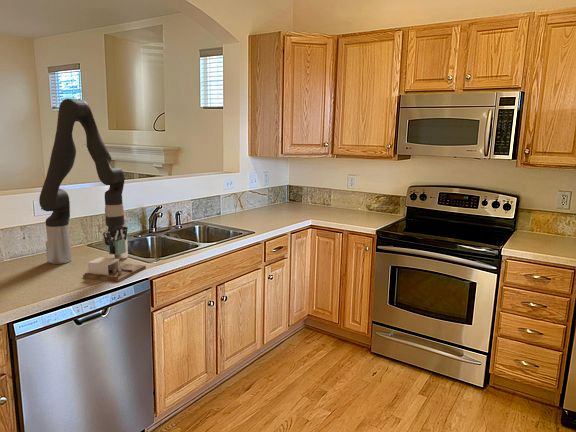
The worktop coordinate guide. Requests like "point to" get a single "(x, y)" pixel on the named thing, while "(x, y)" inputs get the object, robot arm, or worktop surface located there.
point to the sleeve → (118, 246)
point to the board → (117, 272)
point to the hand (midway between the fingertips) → (117, 252)
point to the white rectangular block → (103, 265)
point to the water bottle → (125, 255)
